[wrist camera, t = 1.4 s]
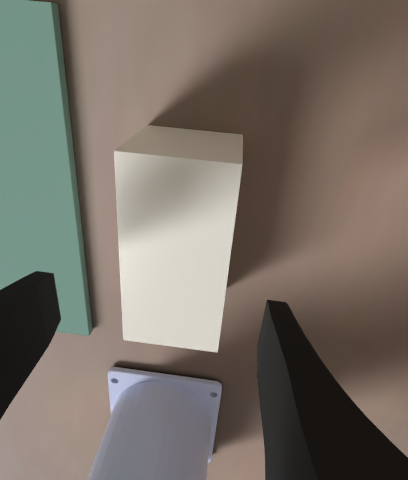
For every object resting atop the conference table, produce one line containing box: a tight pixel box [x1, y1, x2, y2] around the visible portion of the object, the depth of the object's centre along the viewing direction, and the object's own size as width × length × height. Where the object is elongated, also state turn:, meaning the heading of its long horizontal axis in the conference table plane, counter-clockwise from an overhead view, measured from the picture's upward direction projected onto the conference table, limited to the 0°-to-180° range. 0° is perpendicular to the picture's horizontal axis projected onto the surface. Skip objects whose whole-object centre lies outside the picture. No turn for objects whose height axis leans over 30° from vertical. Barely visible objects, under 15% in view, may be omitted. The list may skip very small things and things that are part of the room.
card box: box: [114, 125, 243, 353], centre depth 16 cm, size 9×4×5 cm, turn 176°
